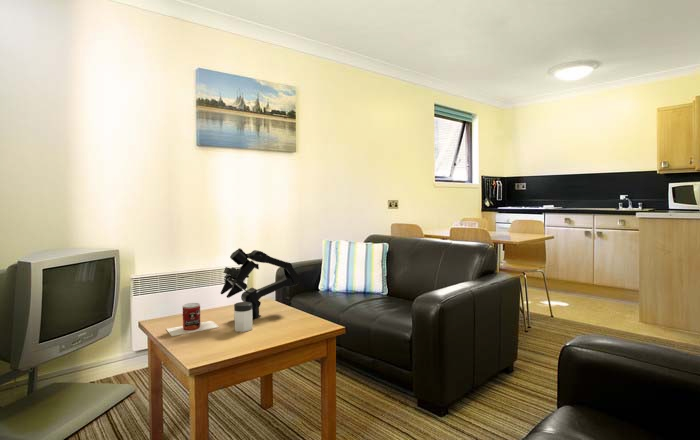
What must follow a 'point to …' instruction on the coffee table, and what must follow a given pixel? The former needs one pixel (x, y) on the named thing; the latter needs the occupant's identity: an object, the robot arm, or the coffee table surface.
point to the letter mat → (203, 326)
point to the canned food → (191, 316)
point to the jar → (243, 316)
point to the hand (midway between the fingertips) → (224, 295)
